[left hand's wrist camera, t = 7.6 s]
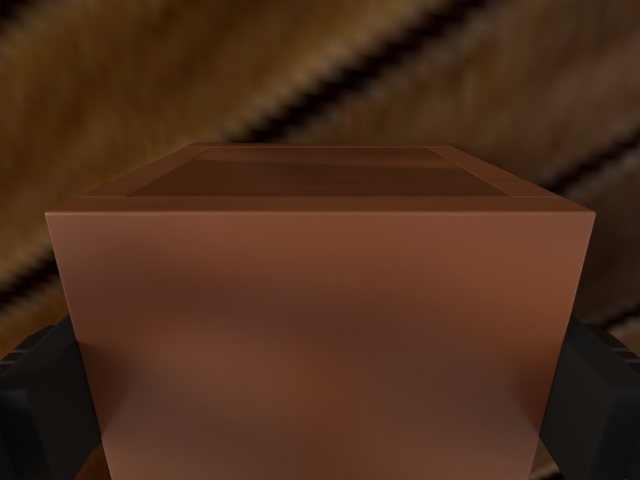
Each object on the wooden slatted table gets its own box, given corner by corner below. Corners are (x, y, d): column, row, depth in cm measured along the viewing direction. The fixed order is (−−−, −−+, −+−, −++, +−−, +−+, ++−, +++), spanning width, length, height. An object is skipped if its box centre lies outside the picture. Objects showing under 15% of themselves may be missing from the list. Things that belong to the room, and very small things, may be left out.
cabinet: (410, 478, 23) (467, 724, 14) (229, 478, 23) (172, 724, 14) (447, 143, 16) (599, 210, 7) (192, 142, 16) (41, 210, 7)
